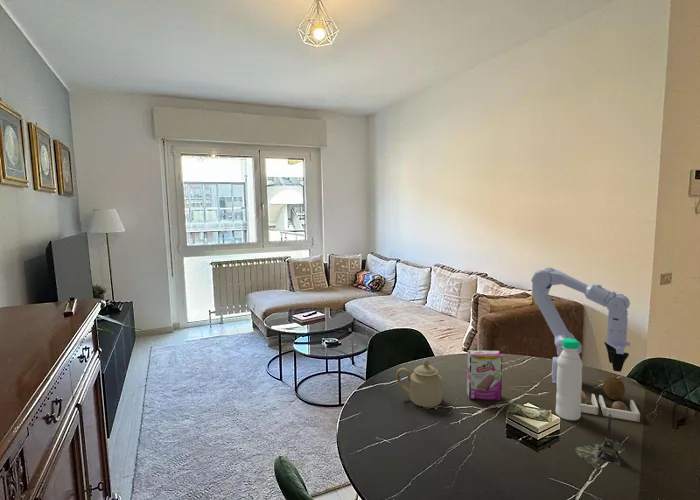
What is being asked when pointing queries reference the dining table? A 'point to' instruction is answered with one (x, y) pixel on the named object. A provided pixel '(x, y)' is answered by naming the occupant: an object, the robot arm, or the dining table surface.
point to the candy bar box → (484, 375)
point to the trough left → (590, 407)
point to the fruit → (614, 388)
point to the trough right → (620, 411)
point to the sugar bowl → (423, 385)
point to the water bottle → (569, 381)
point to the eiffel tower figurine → (602, 451)
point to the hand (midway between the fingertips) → (614, 366)
